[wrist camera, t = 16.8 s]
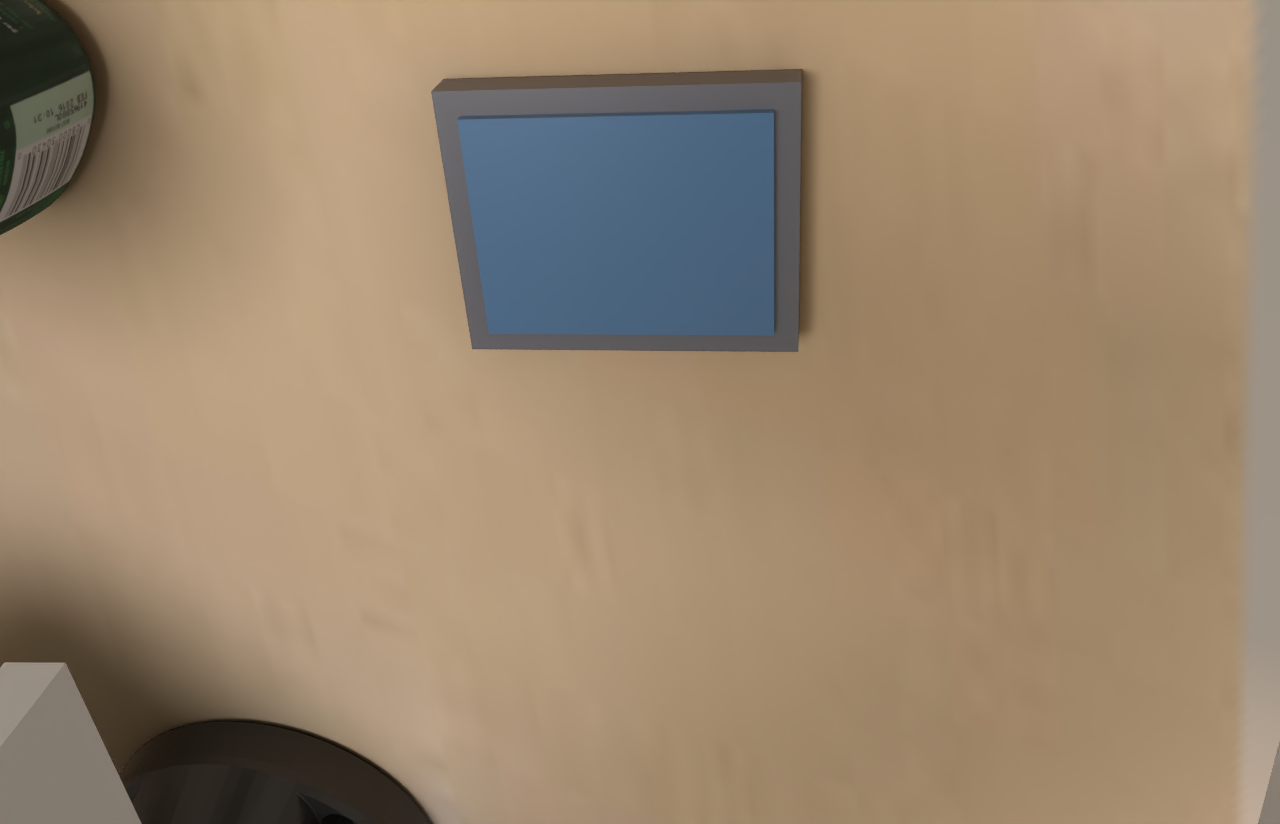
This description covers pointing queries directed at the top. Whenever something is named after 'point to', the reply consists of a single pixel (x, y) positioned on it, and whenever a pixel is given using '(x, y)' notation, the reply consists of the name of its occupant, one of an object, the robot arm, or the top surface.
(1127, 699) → the top surface
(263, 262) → the top surface
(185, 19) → the top surface
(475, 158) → the ink pad
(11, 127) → the coffee jar
